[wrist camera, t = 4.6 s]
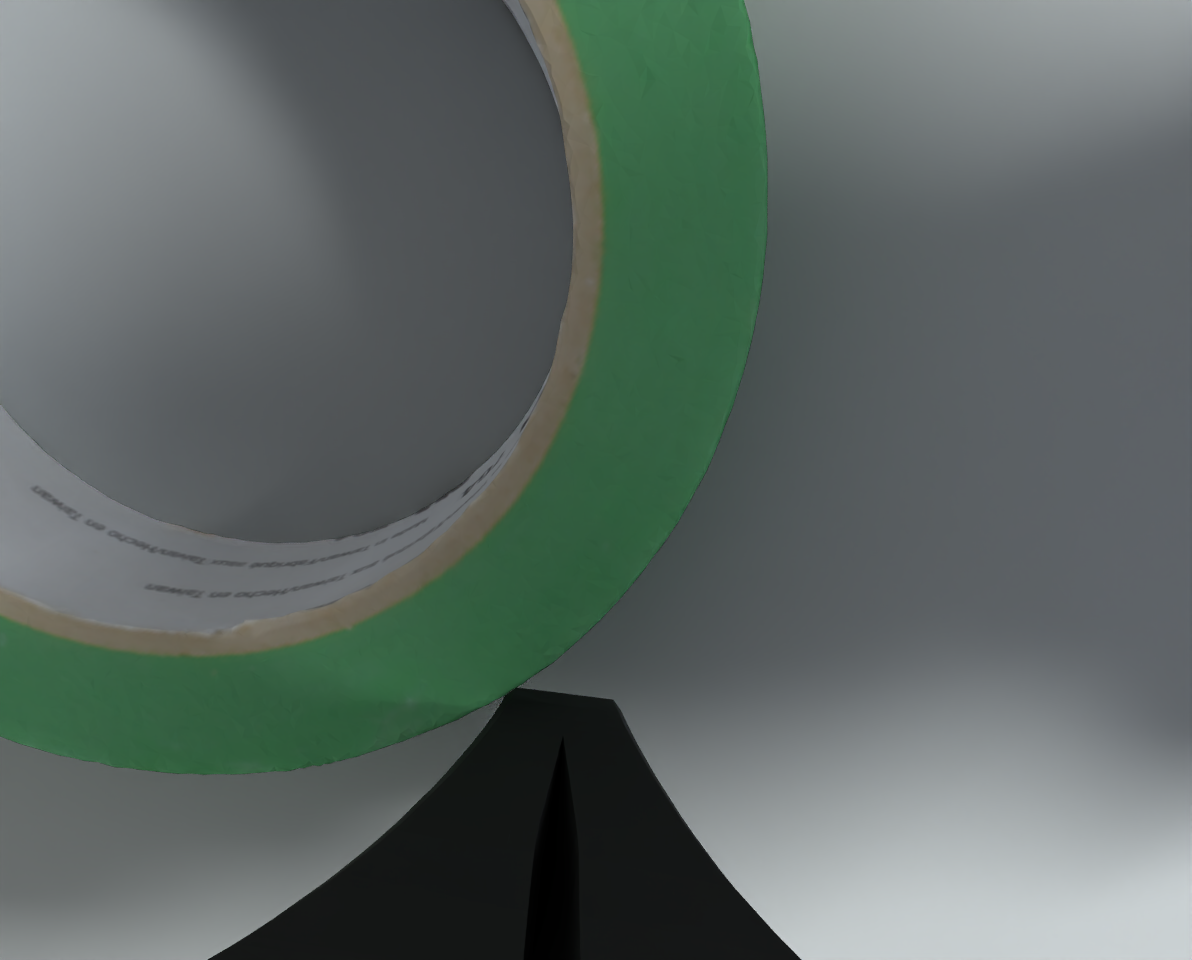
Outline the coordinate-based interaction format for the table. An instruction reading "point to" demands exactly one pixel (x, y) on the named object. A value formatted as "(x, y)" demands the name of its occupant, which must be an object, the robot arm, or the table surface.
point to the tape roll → (465, 514)
